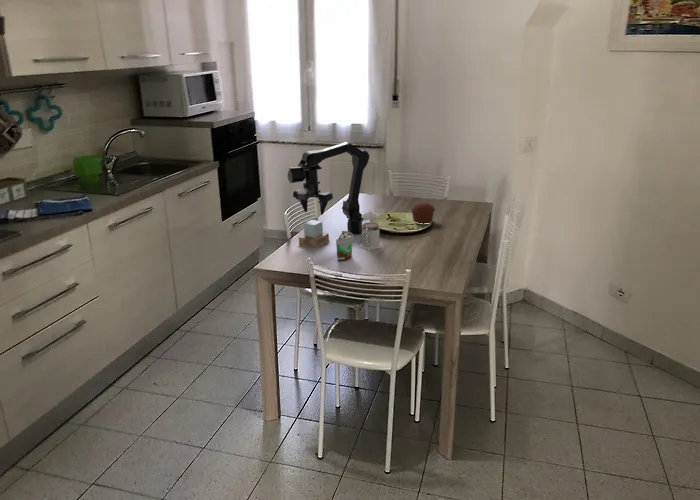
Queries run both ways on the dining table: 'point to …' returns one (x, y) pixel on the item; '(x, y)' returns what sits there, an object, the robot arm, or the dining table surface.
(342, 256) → the food container
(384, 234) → the dining table surface
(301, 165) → the robot arm
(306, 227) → the slate cube
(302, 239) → the walnut block
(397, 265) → the dining table surface
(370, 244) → the french press
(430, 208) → the muffin
